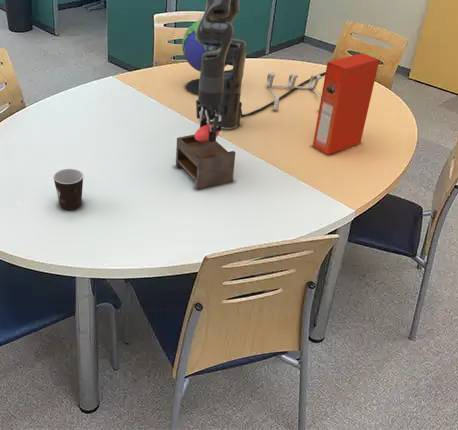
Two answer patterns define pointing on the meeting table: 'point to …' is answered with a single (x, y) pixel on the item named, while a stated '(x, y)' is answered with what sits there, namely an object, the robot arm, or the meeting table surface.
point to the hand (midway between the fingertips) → (207, 137)
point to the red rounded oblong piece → (203, 133)
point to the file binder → (344, 102)
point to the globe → (194, 53)
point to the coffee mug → (69, 188)
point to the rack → (205, 161)
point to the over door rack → (290, 85)
